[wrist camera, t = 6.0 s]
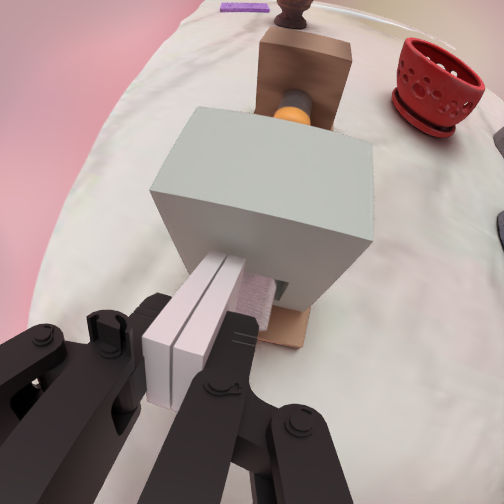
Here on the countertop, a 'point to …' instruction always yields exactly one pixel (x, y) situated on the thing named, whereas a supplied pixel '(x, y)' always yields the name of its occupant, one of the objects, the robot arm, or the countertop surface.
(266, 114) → the pipe rig
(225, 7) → the sponges
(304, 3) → the mortar and pestle
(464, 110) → the plant pot
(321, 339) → the countertop surface
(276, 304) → the sleeve
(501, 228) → the moka pot
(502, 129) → the coffeepot
